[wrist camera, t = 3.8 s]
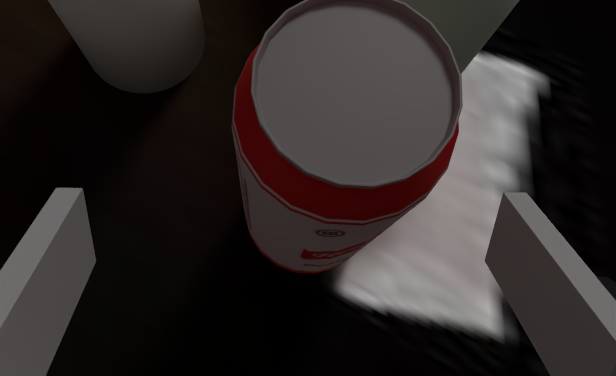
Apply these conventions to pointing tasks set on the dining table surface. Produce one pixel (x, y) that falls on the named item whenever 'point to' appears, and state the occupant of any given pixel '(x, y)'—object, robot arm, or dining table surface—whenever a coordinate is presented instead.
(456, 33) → the sage tin
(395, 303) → the dining table surface
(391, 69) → the beer can
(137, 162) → the dining table surface
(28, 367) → the robot arm
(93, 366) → the dining table surface
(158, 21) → the off-white tin
